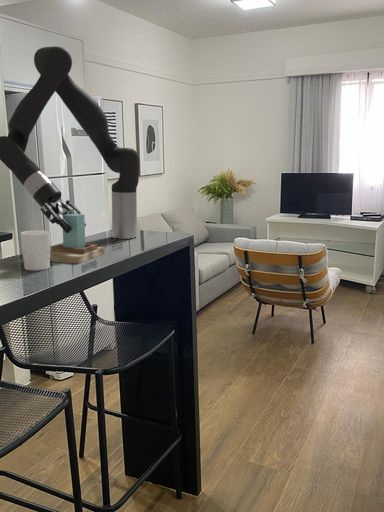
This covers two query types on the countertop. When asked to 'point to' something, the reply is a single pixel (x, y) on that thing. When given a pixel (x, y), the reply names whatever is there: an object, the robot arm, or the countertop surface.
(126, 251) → the countertop surface
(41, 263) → the white cup
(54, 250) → the tan flat rimmed tray
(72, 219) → the pale teal block
